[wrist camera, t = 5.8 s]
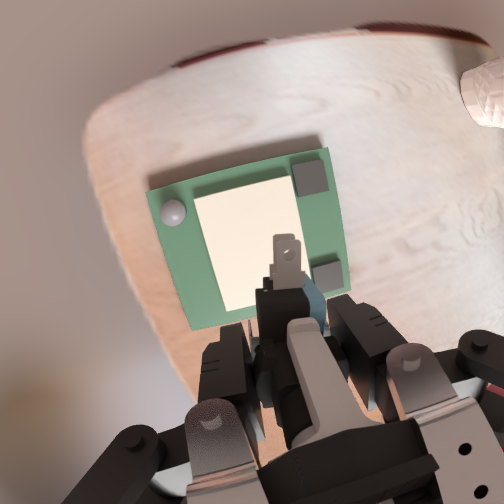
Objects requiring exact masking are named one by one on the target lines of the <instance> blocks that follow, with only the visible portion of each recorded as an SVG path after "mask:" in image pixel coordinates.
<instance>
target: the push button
mask: <svg viewBox="0 0 504 504" xmlns="http://www.w3.org/2000/svg"><path fill="white" fill-rule="evenodd" d="M286 250H288V252H286V253H284V252H285V251H286ZM269 272H270V277H263V288H256V289H255V301H256V311H257V320H258V328H259V337H253V336H252V329H251V323H250V320H248V328H249V341H250V349H251V355H252V359H253V374H254V381H255V388H256V393H257V396H258V398H259V400H260V401H261V402H262V404H263V408H271V407H274V411H275V416H276V421H277V425H278V426H279V427H282V428H283V433H284V437H285V442H286V447H287V449H288V450H289V451H287V452H286V453H284V454H282V455H280V456H278V457H276V458H275V459H273V460H271V461H269V462H268V464H267V465H265V466H264V467H262V468H260V469H259V470H258V472H259V474H260V477H261V480H262V482H263V485H264V488H265V490H266V493H267V495H268V498H269V500H270V503H271V504H394V502H393V499H392V498H393V497H396V496H399V495H401V494H404V493H407V492H409V491H412V490H415V489H417V488H420V487H423V486H426V485H427V483H428V482H429V480H430V478H431V476H432V474H433V473H434V471H436V470H438V469H439V468H440V467H439V465H438V463H437V462H436V460H435V458H434V457H433V455H432V454H428V455H425V456H422V454H421V451H420V449H419V446H418V443H417V440H416V438H415V435H414V432H413V430H412V427H411V424H410V422H409V420H408V419H407V420H402V421H397V422H392V423H386V424H383V423H380V422H375V421H373V420H370V419H369V418H367V417H366V416H365V415H364V414H363V412H362V410H361V409H360V407H359V405H358V403H357V401H356V399H355V397H354V395H353V393H352V391H351V389H350V387H349V385H348V381H347V379H348V376H349V362H348V359H347V357H346V355H345V353H344V351H343V350H342V348H341V346H340V345H339V343H338V342H337V340H336V338H335V335H333V336H330V334H331V332H330V328H329V324H328V323H327V321H326V301H325V298H324V296H323V294H322V293H321V292H319V290H318V289H317V287H316V286H315V285H314V283H313V282H312V280H311V279H310V278H309V276H308V275H307V274H305V272H306V271H301V242H300V241H299V240H295V235H294V234H293V233H287V234H275V235H274V236H273V264H269Z"/></svg>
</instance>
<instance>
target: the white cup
mask: <svg viewBox="0 0 504 504" xmlns="http://www.w3.org/2000/svg"><path fill="white" fill-rule="evenodd" d="M460 86H461V95H462V98H463V101H464V104H465V107H466V108H467V110H468V112H469V114H470V115H471V117H472V118H473V119H474V120H475V121H476V122H477V123H478V124H479V125H483V126H487V127H500V128H504V57H501V58H498V59H496V60H492V61H489V62H487V63H484V64H481V65H480V66H478V67H476V68H473V69H470V70H468V71H465V72H463V75H462V77H461V80H460Z"/></svg>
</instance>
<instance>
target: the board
mask: <svg viewBox="0 0 504 504" xmlns="http://www.w3.org/2000/svg"><path fill="white" fill-rule="evenodd" d="M146 196H147V199H148V203H149V206H150V210H151V213H152V216H153V220H154V223H155V226H156V230H157V233H158V236H159V239H160V242H161V246H162V249H163V252H164V255H165V258H166V261H167V264H168V267H169V270H170V273H171V276H172V278H173V281H174V284H175V287H176V290H177V292H178V295H179V298H180V301H181V303H182V306H183V309H184V311H185V314H186V317H187V319H188V322H189V324H190V327H191V329H192V331H194V330H199V329H204V328H209V327H213V326H218V325H222V324H227V323H231V322H235V321H239V320H244V319H248V318H252V317H256V316H257V311H256V301H255V289H256V288H263V277H270V272H269V264H273V236H274V235H275V234H287V233H293V234H294V235H295V240H299V241H300V242H301V271H306V272H305V274H307V275H308V276H309V278H310V279H311V280H312V282H313V283H314V285H315V286H316V287H317V289H318V290H319V292H321V293H322V294H323V296H324V298H327V297H330V296H334V295H337V294H340V293H344V292H347V291H350V290H351V285H350V275H349V267H348V259H347V251H346V244H345V237H344V230H343V224H342V217H341V211H340V205H339V200H338V194H337V189H336V183H335V178H334V173H333V168H332V163H331V159H330V154H329V149H328V147H326V148H321V149H315V150H310V151H304V152H299V153H294V154H289V155H284V156H279V157H275V158H270V159H265V160H261V161H257V162H252V163H248V164H244V165H240V166H236V167H232V168H228V169H224V170H220V171H216V172H212V173H209V174H205V175H201V176H198V177H194V178H191V179H187V180H184V181H180V182H177V183H173V184H170V185H167V186H164V187H160V188H157V189H154V190H151V191H148V192H146ZM286 252H288V250H286V251H285V252H284V253H286Z"/></svg>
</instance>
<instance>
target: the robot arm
mask: <svg viewBox="0 0 504 504" xmlns="http://www.w3.org/2000/svg"><path fill="white" fill-rule="evenodd" d="M327 310H328V318H329V326H330V332H331V336H333V335H335V338H336V340H337V342H338V343H339V345H340V346H341V348H342V350H343V351H344V353H345V355H346V357H347V359H348V362H349V376H350V378H351V380H352V382H353V384H354V386H355V387H356V389H357V391H358V393H359V395H360V397H361V399H362V400H363V402H364V404H365V406H366V408H367V410H368V411H370V410H372V409H375V408H377V407H378V408H379V410H380V411H381V413H382V415H381V423H383V424H386V423H392V422H397V421H402V420H407V419H408V420H409V422H410V424H411V427H412V430H413V432H414V435H415V438H416V440H417V443H418V446H419V449H420V451H421V454H422V456H425V455H428V454H432V455H433V457H434V458H435V460H436V462H437V463H438V465H439V467H440V468H439V469H438V470H436V471H434V473H433V474H432V476H431V478H430V480H429V482H428V483H427V485H426V486H423V487H420V488H417V489H415V490H412V491H409V492H407V493H404V494H401V495H399V496H396V497H393V498H392V499H393V502H394V504H504V453H503V451H502V449H501V447H500V446H502V447H504V397H502V396H500V395H497V394H495V393H493V392H491V391H488V390H486V388H487V386H488V383H491V384H494V385H496V386H498V387H501V388H503V389H504V337H503V336H500V335H498V334H495V333H492V332H489V331H486V330H471V331H468V332H466V333H465V334H463V335H462V336H461V338H460V340H459V343H458V348H456V349H451V350H447V351H442V352H436V353H433V352H432V351H431V349H429V348H428V347H427V346H425V345H422V344H418V343H408V342H407V341H406V340H405V338H404V337H403V336H402V335H401V334H400V333H399V332H398V331H397V330H396V329H395V328H394V327H393V326H392V325H391V324H390V322H388V320H387V319H386V318H385V317H384V316H382V314H381V313H380V312H379V311H378V310H377V309H376V308H375V307H373V306H371V305H369V304H366V303H364V302H363V303H360V304H356V303H355V302H354V301H353V300H352V299H351V298H350V296H349V295H348V294H344V295H341V296H337V297H334V298H331V299H328V300H327ZM261 441H266V440H265V433H264V426H263V420H262V413H261V406H260V400H259V398H258V396H257V393H256V388H255V381H254V374H253V359H252V355H251V352H250V349H249V346H248V343H247V339H246V336H245V333H244V330H243V327H242V324H241V322H240V323H235V324H231V325H227V326H222V327H220V341H218V342H214V343H209V345H208V346H207V347H206V349H205V350H204V352H203V354H202V365H201V374H200V383H199V393H198V404H196V405H195V406H194V407H192V408H191V409H190V411H189V412H188V413H187V415H186V417H185V423H184V424H182V425H180V426H178V427H176V428H173V429H170V430H167V431H164V432H161V433H158V434H157V433H156V431H155V430H154V429H153V428H151V427H149V426H146V425H133V426H130V427H128V428H126V429H124V430H122V431H121V432H120V433H119V434H118V435H117V436H116V437H115V439H114V440H113V441H112V442H111V444H110V445H109V446H108V447H107V448H106V450H105V451H104V452H103V453H102V455H101V456H100V457H99V458H98V459H97V461H96V462H95V463H94V464H93V466H92V467H91V468H90V469H89V471H88V472H87V473H86V474H85V475H84V477H83V478H82V479H81V480H80V481H79V483H78V484H77V485H76V486H75V488H74V489H73V490H72V491H71V493H70V494H69V495H68V496H67V497H66V498H65V500H64V501H63V502H62V503H61V504H271V503H270V500H269V498H268V495H267V493H266V490H265V488H264V485H263V482H262V480H261V477H260V474H259V472H258V470H259V469H260V468H262V467H263V466H262V464H261V461H260V459H259V452H258V444H257V442H261Z"/></svg>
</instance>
